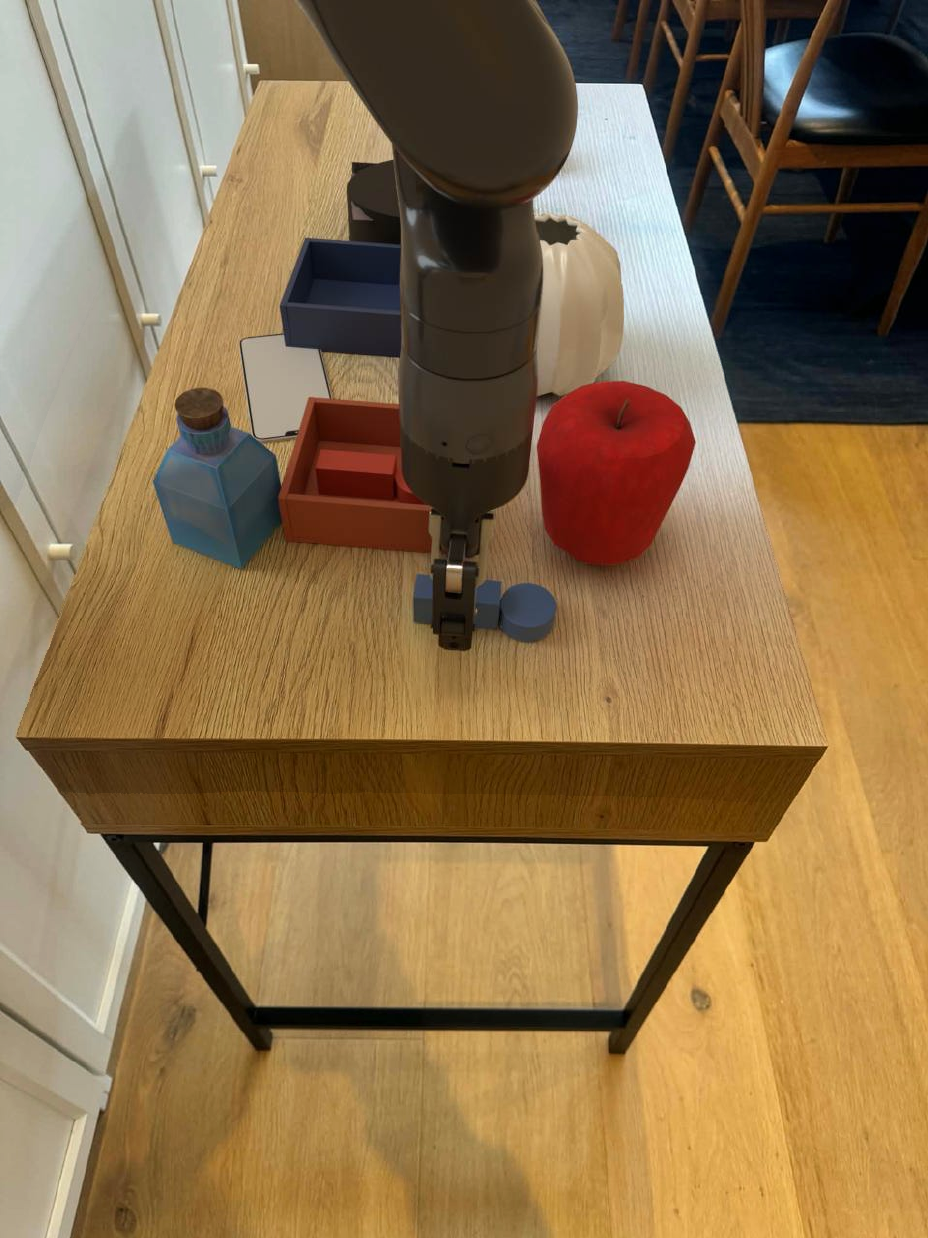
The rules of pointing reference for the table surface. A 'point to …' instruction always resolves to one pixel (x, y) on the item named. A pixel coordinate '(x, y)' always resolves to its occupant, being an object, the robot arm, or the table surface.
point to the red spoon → (362, 476)
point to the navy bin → (344, 298)
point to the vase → (577, 305)
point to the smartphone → (280, 385)
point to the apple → (611, 469)
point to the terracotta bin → (345, 515)
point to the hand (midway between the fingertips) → (460, 596)
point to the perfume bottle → (217, 483)
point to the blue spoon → (498, 608)
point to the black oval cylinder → (373, 203)
